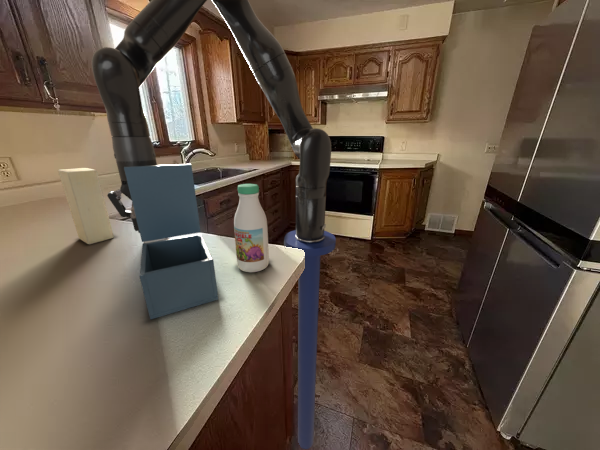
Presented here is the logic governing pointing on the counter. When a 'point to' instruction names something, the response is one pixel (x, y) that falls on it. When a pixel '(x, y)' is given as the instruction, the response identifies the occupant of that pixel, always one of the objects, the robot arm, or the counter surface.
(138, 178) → the freezer lid
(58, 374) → the counter surface
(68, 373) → the counter surface
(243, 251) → the milk bottle
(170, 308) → the box
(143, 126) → the robot arm
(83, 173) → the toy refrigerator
